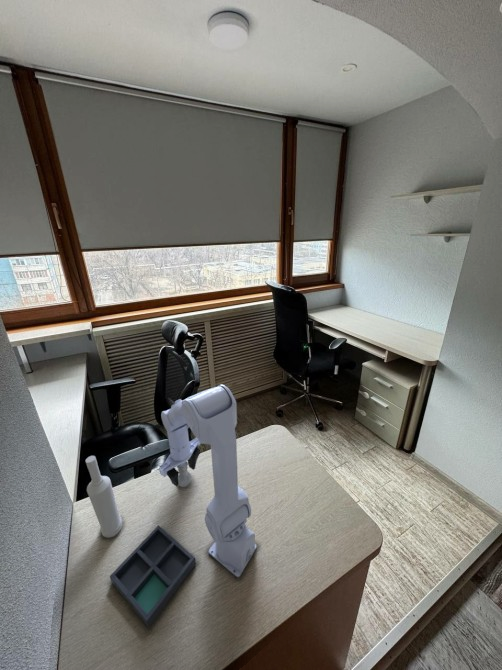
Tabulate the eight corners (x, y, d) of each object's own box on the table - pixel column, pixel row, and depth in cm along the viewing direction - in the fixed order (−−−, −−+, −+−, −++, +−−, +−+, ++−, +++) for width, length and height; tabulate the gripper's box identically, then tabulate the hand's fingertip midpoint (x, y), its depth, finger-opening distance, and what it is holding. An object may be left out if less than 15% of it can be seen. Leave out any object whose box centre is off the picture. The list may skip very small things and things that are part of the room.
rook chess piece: (193, 475, 87) (191, 457, 84) (189, 488, 83) (186, 469, 80) (180, 474, 88) (177, 456, 85) (175, 486, 84) (172, 467, 81)
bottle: (114, 540, 69) (91, 470, 60) (97, 536, 70) (72, 466, 61) (126, 520, 74) (107, 452, 65) (110, 517, 75) (89, 449, 66)
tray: (196, 563, 65) (195, 557, 64) (148, 628, 54) (146, 621, 53) (159, 531, 71) (158, 524, 70) (111, 582, 61) (109, 576, 60)
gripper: (187, 423, 87) (191, 454, 92) (149, 452, 76) (156, 486, 81) (203, 431, 83) (206, 464, 88) (166, 463, 72) (172, 498, 77)
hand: (183, 475), depth 85 cm, fingers open, 6 cm apart
